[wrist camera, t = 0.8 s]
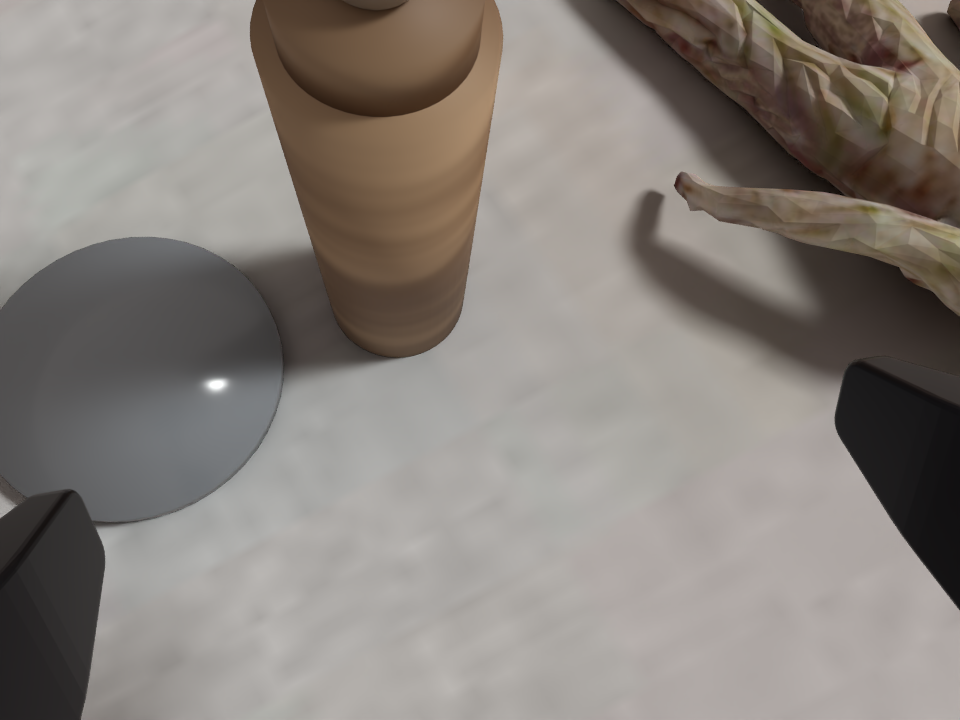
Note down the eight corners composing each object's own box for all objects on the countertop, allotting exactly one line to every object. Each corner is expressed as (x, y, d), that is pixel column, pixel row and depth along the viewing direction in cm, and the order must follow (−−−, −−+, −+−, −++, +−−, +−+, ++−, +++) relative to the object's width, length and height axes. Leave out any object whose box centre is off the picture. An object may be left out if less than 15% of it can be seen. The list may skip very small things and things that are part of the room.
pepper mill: (463, 359, 24) (529, 13, 9) (326, 355, 23) (181, -10, 9) (463, 237, 25) (523, -226, 11) (335, 233, 24) (220, -253, 10)
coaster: (271, 523, 21) (267, 521, 21) (-47, 521, 21) (-60, 519, 20) (294, 249, 24) (291, 241, 24) (14, 240, 23) (4, 231, 23)
